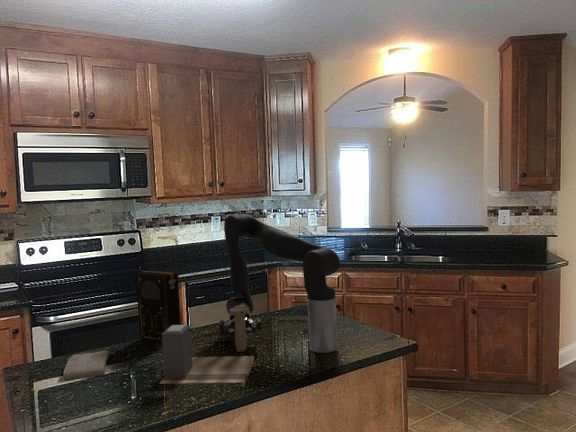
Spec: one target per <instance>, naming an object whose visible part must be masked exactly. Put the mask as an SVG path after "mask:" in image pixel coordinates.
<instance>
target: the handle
mask: <svg viewBox="0 0 576 432" xmlns="http://www.w3.org/2000/svg"><path fill="white" fill-rule="evenodd" d="M248 312H249V307H246V306H243V307H235V308H231V309H230V314H231V315H233V316H234V317H235V331H234V343H235V349H236V352H238V353H239V352H246V351H247V350H248V349H247V346H248V335H247V333H248V332H247V330H246V324H245V315H246V314H247V313H248Z"/></svg>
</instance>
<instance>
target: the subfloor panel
mask: <svg viewBox="0 0 576 432" xmlns="http://www.w3.org/2000/svg"><path fill="white" fill-rule="evenodd" d="M254 361H255V356H254V355H246V356H245V355H244V356H243V355H242V356H241V355H239V356H237V355H236V356H232V355H231V356H194V357H193V356H192V369H191V370H190V372H189V373H188V374H187V376H186V377H185V378H165V377H162V379H161V380H160V382H159V383H158V384H161V385H162V384H164V385H165V384H172V385H173V384H222V383H224V384H226V383H227V384H228V383H229V384H232V383H233V384H235V383H238V384H239V383H241V384H240V387H245V386H246V385H245V384H246V382H247V380H248V378H249V374H250V372H251V370H252V366H253V364H254Z"/></svg>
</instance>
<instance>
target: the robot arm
mask: <svg viewBox="0 0 576 432" xmlns="http://www.w3.org/2000/svg"><path fill="white" fill-rule="evenodd" d="M223 225H224V226H223V229H224V230H223V231H224V237H225V238H224V239H225V243H226V249H227V254H228V260H229V268H230V269H229V270H230V290H231V291H232V292H235V293H238V294H239V293H240V294H242V296H233V297H232V296H231V297H230V298H228V299H227V301H226V305H225V306H226V311H227V314H228V315H229V319H228V321H225V320H224V319H222V320H219V325H218V327H219V328H218V329H219V333H223V332H224V334H225V335H226V336H229V335H230V333H232V332H235V317H234V316H233V315H231V314H230V309H231V308H235V307H243V306H246V307H249V312H248V313H247V314H246V315H245V324H246V331H251V333H252V334H255V333H256V332H257V330H262V320H261V318H260V317H256V318H255V319H252V317H251V316H252V313H253V311H254V310H255V309H254V307H255V306H254V301H253V298H252V295H251V291H250V283H249V282H250V281H249V268H248V264H247V263H246V261H245V258H244V257H243V255H242V252H241V250H240V244H239V242H240V240H239V239H244V238H246V239H247V238H250V239H254V240H256V241H259V242H260V245H261V246H262V248H263V250H264V251H265V252H267V253H269V254H271V255H273V256H275V257H277V258H280V259H284V260H290V261H297V262H302V272H303V273H302V275H303V282H304V283H303V284H304V289H305V292H306V295H307V318H308V319H307V320H308V338H309V339H308V342H309V351H311V352H314V353H318V354H319V353H320V354H326V353H333V352H338V347H339V346H338V325H337V306H336V290H335V288H334V287H332V286H328V284H327V278H326V277H329V276H331V275H334V274H335V273H337V272H338V271H339V269H340V268H341V267H340V265H341V259H340V257H339V255H338V254H337V253H336V252H335V250H332V249H331V248H329V247H325V246H322V245H318V244H315V243H311V242H309V241H307V240H304V239H302V238H300V237H298V236H295V235H293V234H291V233H289V232H287V231H284V230H282V229H279V228H276V227H274V226H272V225H269V224H266V223H264V222H262V221H260V220H259V219H257V218H256V217H253V216H252V215H251V214H247V213H241V214H240V213H239V214H233V215H232V214H231V215H228V216H227V217H226V218H225V220H224V223H223Z"/></svg>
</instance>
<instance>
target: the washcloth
mask: <svg viewBox="0 0 576 432" xmlns="http://www.w3.org/2000/svg"><path fill="white" fill-rule="evenodd" d="M108 359H109V351H108V350H100V351H97V352H82V353H77V354H73V355H72V356H70V357H69V358H68V360H67V362H66V364H65V367H64V370H63V374H62V375H63V377H62V379H63V380H65V381H66V380H74V379H80V378H89V376H90V377H95V376H96V375H97V376H102V374H103V375H104V374H105V371H106V368H107V363H108V362H107V361H108Z"/></svg>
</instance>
